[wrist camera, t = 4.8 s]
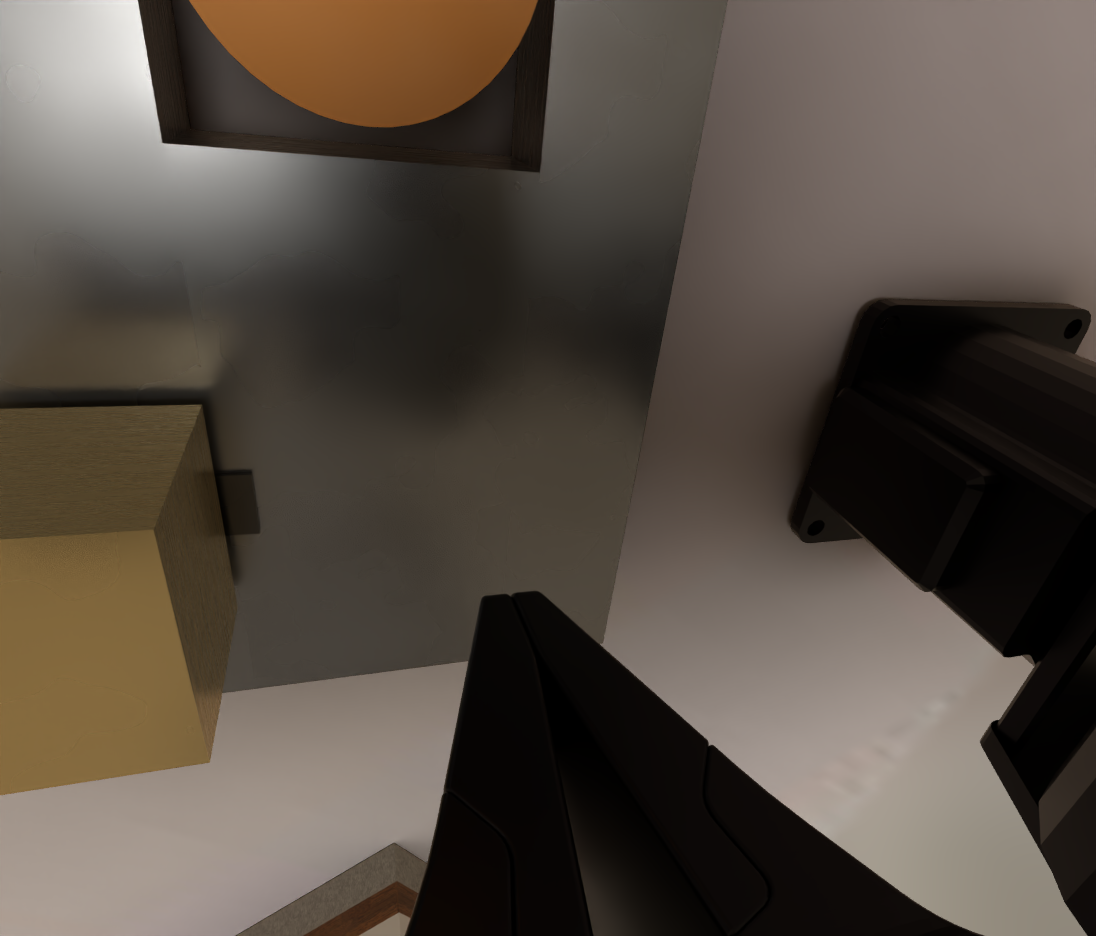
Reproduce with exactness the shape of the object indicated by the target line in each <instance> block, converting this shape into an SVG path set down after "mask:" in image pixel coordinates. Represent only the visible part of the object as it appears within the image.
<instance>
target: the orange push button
mask: <svg viewBox="0 0 1096 936" xmlns="http://www.w3.org/2000/svg"><path fill="white" fill-rule="evenodd" d="M189 1H190V2H191V4H192V5H193V7H194V8H195V10H196V11H197V13H198V14H199V15H200V17H201V18H202V20H203V21H204V23H205V24H206V25H207V27H208V28H209V30H210V31H211V32H212V33H213V34H214V36H215V37H216V38H217V39H218V40H219V41H220V43H221V44H222V45H223V46H224V47H225V48H226V50H227V51H228V52H229V53H230V54H231V55H232V56H233V57H234V58H235V59H236V60H237V61H238V62H239V63H241V64H242V65H243V66H244V67H245V68H246V69H247V70H248V71H249V72H250V73H251V74H252V75H254V76H255V77H256V78H257V79H259V80H260V81H261V82H263V83H264V84H265V85H267V86H268V87H269V88H271V89H272V90H273V91H275V92H276V93H278V94H280V95H281V96H283V97H285V98H286V99H288V100H290V101H291V102H293V103H295V104H296V105H298V106H300V107H303V108H305V109H307V110H309V111H312V112H314V113H316V114H318V115H321V116H323V117H327V118H330V119H333V120H337V121H340V122H343V123H348V124H354V125H360V126H367V127H397V126H405V125H413V124H417V123H420V122H424V121H427V120H431V119H434V118H437V117H439V116H441V115H443V114H445V113H448V112H450V111H452V110H454V109H456V108H457V107H459V106H461V105H462V104H464V103H465V102H467V101H468V100H470V99H471V98H473V97H474V96H475V95H476V94H478V93H479V92H480V91H481V90H482V89H483V88H484V87H486V86H487V85H488V84H489V83H490V82H491V81H492V80H493V79H494V77H495V76H496V75H497V74H498V73H499V72H500V71H501V69H502V68H503V67H504V66H505V65H506V63H507V62H508V60H509V59H510V57H511V56H512V54H513V53H514V51H515V50H516V48H517V47H518V45H519V43H520V41H521V39H522V37H523V35H524V33H525V31H526V29H527V27H528V25H529V23H530V21H531V18H532V15H533V12H534V10H535V7H536V4H537V1H538V0H189Z"/></svg>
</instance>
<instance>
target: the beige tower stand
mask: <svg viewBox="0 0 1096 936" xmlns="http://www.w3.org/2000/svg"><path fill="white" fill-rule="evenodd" d="M426 866H427V863H425V862H424V861H422V860H420V859H419V858H417V857H415V856H414V855H412V854H411V853H409V852H407V851H406V850H404V849H403V848H401V847H399V846H398V845H396V844H395V843H393V844H392V845H390V846H388V847H387V848H385V849H383V850H381V851H380V852H378V853H376V854H375V855H373V856H371V857H370V858H368V859H366V860H364V861H363V862H361V863H359V864H358V865H356V866H354V867H353V868H351V869H349V870H347V871H346V872H344V873H342V874H341V875H339V876H337V877H335V878H334V879H332V880H330V881H329V882H327V883H325V884H324V885H322V886H320V887H318V888H317V889H315V890H313V891H312V892H310V893H308V894H307V895H305V896H303V897H301V898H300V899H298V900H296V901H295V902H293V903H291V904H290V905H288V906H286V907H284V908H283V909H281V910H279V911H278V912H276V913H274V914H273V915H271V916H269V917H267V918H266V919H264V920H262V921H261V922H259V923H257V924H255V925H254V926H252V927H250V928H249V929H247V930H245V931H244V932H242V933H240V934H238V935H237V936H404V935H405V933H406V930H407V927H408V924H409V921H410V918H411V915H412V912H413V908H414V905H415V902H416V899H417V896H418V892H419V889H420V886H421V883H422V879H423V876H424V873H425V870H426Z"/></svg>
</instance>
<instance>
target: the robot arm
mask: <svg viewBox="0 0 1096 936" xmlns="http://www.w3.org/2000/svg"><path fill="white" fill-rule="evenodd" d="M887 318H888V322H887V323H886V325H885V327H883V328H882V329H881V326H882V324H883V322H884V321H885V320H886V319H887ZM1090 322H1091V315H1090V313H1089V311H1087V310H1084V309H1081V308H1078V307H1075V306H1072V305H1069V304H1045V303H1007V302H969V301H932V300H894V299H885V300H880V301H877V302H876V303H874V304H872V305H871V306H870V307H869V308H868V309H867V310H866V311H865V312H864V314H863V316H862V318H861V320H860V323H859V326H858V329H857V332H856V334H855V337H854V340H853V343H852V346H851V349H850V352H849V355H848V358H847V360H846V363H845V366H844V369H843V372H842V375H841V378H840V381H839V384H838V387H837V389H836V392H835V395H834V398H833V401H832V404H831V407H830V410H829V413H828V416H827V418H826V421H825V424H824V427H823V430H822V433H821V436H820V439H819V442H818V444H817V447H816V450H815V453H814V456H813V459H812V462H811V465H810V468H809V471H808V473H807V476H806V479H805V482H804V485H803V488H802V491H801V494H800V497H799V499H798V502H797V505H796V508H795V511H794V514H793V517H792V520H791V526H790V527H791V529H792V531H793V532H794V533H795V534H796V535H797V536H798V538H799V539H800V540H802V541H803V542H805V543H817V542H827V541H838V540H849V539H859V538H864V539H865V540H866V541H867V542H868V543H869V544H870V545H871V546H872V547H874V548H875V549H876V550H877V551H878V552H879V553H880V554H881V555H882V556H883V557H885V558H886V559H887V560H888V561H889V562H890V563H891V564H892V565H893V566H894V567H896V568H897V569H898V570H899V571H900V572H901V573H902V574H903V575H904V576H905V577H907V578H908V579H909V580H910V581H911V582H912V583H913V584H914V585H915V586H916V587H918V588H919V589H920V590H922V591H924V592H930V591H931V592H932V593H933V594H934V595H935V596H936V597H937V598H939V599H940V600H941V601H942V602H943V603H944V604H945V605H946V606H948V607H949V608H950V609H951V610H952V611H953V612H954V613H955V614H956V615H958V616H959V617H960V618H961V619H962V620H963V621H964V622H965V623H967V624H968V625H969V626H970V627H971V628H972V629H973V630H974V631H976V632H977V633H978V634H979V635H980V636H981V637H982V638H983V639H984V640H986V641H987V642H988V643H989V644H990V645H991V646H992V647H993V648H995V649H996V650H997V651H998V652H999V653H1000V654H1001V655H1002V656H1003V657H1015V656H1021V655H1022V656H1023V657H1024V658H1025V659H1026V660H1028V661H1029V662H1030V663H1031V664H1032V665H1033V666H1034V668H1033V670H1032V671H1031V673H1030V674H1029V676H1028V677H1027V679H1026V681H1025V682H1024V683H1023V685H1022V687H1021V688H1020V690H1019V691H1018V693H1017V694H1016V696H1015V697H1014V699H1013V700H1012V702H1011V703H1010V705H1009V706H1008V708H1007V709H1006V711H1005V712H1004V714H1003V715H1002V717H1001V719H1000V720H996V721H993V722H992V723H991V724H990V726H989V727H988V729H987V730H986V732H985V733H984V735H983V736H982V738H981V741H980V743H981V746H982V748H983V750H984V751H985V753H986V755H987V757H988V759H989V760H990V762H991V764H992V766H993V768H994V769H995V771H996V773H997V775H998V776H999V778H1000V780H1001V782H1002V783H1003V785H1004V787H1005V789H1006V791H1007V792H1008V794H1009V796H1010V798H1011V800H1012V801H1013V803H1014V805H1015V806H1016V808H1017V810H1018V812H1019V814H1020V815H1021V817H1022V819H1023V821H1024V823H1025V824H1026V826H1027V828H1028V830H1029V831H1030V833H1031V835H1032V837H1033V839H1034V841H1035V842H1036V844H1037V846H1038V848H1039V849H1040V851H1041V853H1042V855H1043V857H1044V858H1045V860H1046V862H1047V864H1048V865H1049V867H1050V869H1051V871H1052V873H1053V875H1054V878H1055V880H1056V883H1057V885H1058V888H1059V890H1060V892H1061V895H1062V897H1063V900H1064V902H1065V904H1066V905H1067V907H1068V908H1069V910H1070V911H1071V912H1072V914H1073V915H1074V917H1075V918H1076V920H1077V921H1078V923H1079V924H1080V925H1081V927H1082V928H1083V930H1084V931H1085V933H1086V934H1087V935H1088V936H1096V363H1095V362H1093V361H1090V360H1088V359H1085V358H1083V357H1080V356H1078V355H1075V353H1076V351H1077V349H1078V347H1079V345H1080V343H1081V341H1082V339H1083V338H1084V336H1085V334H1086V332H1087V330H1088V328H1089V325H1090ZM811 523H812V524H811ZM708 745H709V743H708V740H707V739H706V738H704V737H703V736H702V735H701V734H700V733H699V732H698V731H697V730H695V729H694V728H693V727H692V726H691V725H690V724H689V723H688V722H686V721H685V720H684V719H683V718H682V717H681V716H680V715H679V714H677V713H676V712H675V711H674V710H673V709H672V708H671V707H670V706H668V705H667V704H666V703H665V702H664V701H663V700H662V699H661V698H659V697H658V696H657V695H656V694H655V693H654V692H653V691H652V690H650V689H649V688H648V687H647V686H646V685H645V684H644V683H643V682H641V681H640V680H639V679H638V678H637V677H636V676H635V675H634V674H632V673H631V672H630V671H629V670H628V669H627V668H626V667H625V666H623V665H622V664H621V663H620V662H619V661H618V660H617V659H616V658H614V657H613V656H612V655H611V654H610V653H609V652H608V651H607V650H605V649H604V648H603V647H602V646H601V645H600V644H599V643H598V642H596V641H595V640H594V639H593V638H592V637H591V636H590V635H589V634H587V633H586V632H585V631H584V630H583V629H582V628H581V627H580V626H578V625H577V624H576V623H575V622H574V621H573V620H572V619H571V618H569V617H568V616H567V615H566V614H565V613H564V612H563V611H561V610H560V609H559V608H558V607H557V606H556V605H555V604H554V603H552V602H551V601H550V600H549V599H548V598H547V597H546V596H545V595H543V594H542V593H541V592H539V591H525V592H515V593H513V594H512V595H511V596H510V595H508V594H495V595H486V596H483V597H482V598H481V601H480V606H479V611H478V616H477V621H476V626H475V631H474V636H473V642H472V647H471V652H470V657H469V662H468V667H467V672H466V677H465V682H464V688H463V693H462V698H461V703H460V708H459V713H458V718H457V723H456V728H455V733H454V739H453V744H452V749H451V754H450V759H449V764H448V769H447V774H446V779H445V785H444V793H443V795H442V798H441V803H440V808H439V813H438V819H437V824H436V828H435V832H434V836H433V841H432V845H431V849H430V853H429V858H428V862H427V866H426V870H425V873H424V876H423V879H422V883H421V886H420V889H419V892H418V896H417V899H416V902H415V905H414V908H413V912H412V915H411V918H410V921H409V924H408V927H407V930H406V933H405V935H404V936H984V935H981V934H978V933H975V932H972V931H969V930H967V929H965V928H962V927H960V926H957V925H955V924H953V923H951V922H949V921H947V920H945V919H943V918H941V917H939V916H938V915H936V914H934V913H932V912H931V911H929V910H927V909H926V908H924V907H922V906H921V905H919V904H917V903H916V902H914V901H913V900H912V899H910V898H909V897H907V896H906V895H905V894H903V893H902V892H900V891H899V890H898V889H896V888H895V887H894V886H892V885H891V884H889V883H888V882H887V881H885V880H884V879H883V878H881V877H880V876H878V875H877V874H876V873H874V872H873V871H872V870H871V869H869V868H868V867H866V866H865V865H864V864H862V863H861V862H860V861H858V860H857V859H856V858H854V857H853V856H852V855H850V854H849V853H847V852H846V851H845V850H844V849H842V848H841V847H840V846H838V845H837V844H835V843H834V842H833V841H831V840H830V839H829V838H827V837H826V836H825V835H823V834H822V833H821V832H819V831H818V830H817V829H815V828H814V827H813V826H811V825H810V824H808V823H807V822H806V821H805V820H803V819H802V818H801V817H799V816H798V815H797V814H795V813H794V812H793V811H792V810H790V809H789V808H788V807H786V806H785V805H784V804H783V803H781V802H780V801H779V800H777V799H776V798H775V797H774V796H772V795H771V794H770V793H768V792H767V791H766V790H765V789H764V788H762V787H761V786H760V785H759V784H758V783H756V782H755V781H754V780H753V779H752V778H751V777H749V776H748V775H747V774H746V773H745V772H744V771H742V770H741V769H740V768H739V767H738V766H736V765H735V764H734V763H733V762H732V761H731V760H730V759H728V758H727V757H726V756H725V755H724V754H723V753H722V752H721V751H719V750H718V749H717V748H716V747H715V746H714V745H710V746H709V747H708Z"/></svg>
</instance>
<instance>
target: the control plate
mask: <svg viewBox="0 0 1096 936" xmlns="http://www.w3.org/2000/svg"><path fill="white" fill-rule="evenodd" d="M727 1H728V0H538V1H537V4H536V7H535V10H534V12H533V15H532V18H531V21H530V23H529V25H528V27H527V29H526V31H525V33H524V35H523V37H522V39H521V41H520V43H519V45H518V58H517V74H516V89H515V104H514V119H513V134H512V149H511V156H500V155H488V154H476V153H464V152H452V151H440V150H428V149H416V148H404V147H392V146H380V145H368V144H356V143H344V142H332V141H320V140H308V139H297V138H285V137H273V136H261V135H249V134H237V133H225V132H213V131H201V130H191V129H190V122H189V115H188V109H187V102H186V96H185V89H184V82H183V76H182V69H181V63H180V56H179V49H178V43H177V36H176V30H175V23H174V16H173V10H172V3H171V0H0V409H15V408H64V407H114V406H163V405H202V408H203V414H204V419H205V425H206V431H207V436H208V442H209V448H210V453H211V459H212V465H213V470H214V476H215V482H216V487H217V493H218V499H219V504H220V510H221V516H222V521H223V527H224V533H225V538H226V544H227V550H228V555H229V561H230V567H231V572H232V578H233V584H234V589H235V595H236V601H237V606H238V608H237V614H236V619H235V625H234V630H233V636H232V641H231V647H230V653H229V658H228V664H227V669H226V675H225V680H224V686H223V692H222V693H226V692H234V691H241V690H249V689H257V688H264V687H272V686H280V685H287V684H295V683H303V682H310V681H318V680H326V679H333V678H341V677H349V676H356V675H364V674H372V673H379V672H387V671H395V670H402V669H410V668H418V667H425V666H433V665H441V664H448V663H456V662H464V661H469V657H470V652H471V647H472V642H473V636H474V631H475V626H476V621H477V616H478V611H479V606H480V601H481V598H482V597H483V596H486V595H495V594H508V595H510V596H511V595H512V594H513V593H515V592H525V591H539V592H541V593H542V594H543V595H545V596H546V597H547V598H548V599H549V600H550V601H551V602H552V603H554V604H555V605H556V606H557V607H558V608H559V609H560V610H561V611H563V612H564V613H565V614H566V615H567V616H568V617H569V618H571V619H572V620H573V621H574V622H575V623H576V624H577V625H578V626H580V627H581V628H582V629H583V630H584V631H585V632H586V633H587V634H589V635H590V636H591V637H592V638H593V639H594V640H595V641H596V642H598V643H599V644H602V643H603V639H604V634H605V629H606V624H607V619H608V614H609V609H610V603H611V598H612V593H613V588H614V583H615V578H616V573H617V567H618V562H619V557H620V552H621V547H622V542H623V536H624V531H625V526H626V521H627V516H628V511H629V506H630V500H631V495H632V490H633V485H634V480H635V475H636V470H637V464H638V459H639V454H640V449H641V444H642V439H643V434H644V428H645V423H646V418H647V413H648V408H649V403H650V398H651V392H652V387H653V382H654V377H655V372H656V367H657V361H658V356H659V351H660V346H661V341H662V336H663V331H664V325H665V320H666V315H667V310H668V305H669V300H670V295H671V289H672V284H673V279H674V274H675V269H676V264H677V259H678V253H679V248H680V243H681V238H682V233H683V228H684V223H685V217H686V212H687V207H688V202H689V197H690V192H691V187H692V181H693V176H694V171H695V166H696V161H697V156H698V150H699V145H700V140H701V135H702V130H703V125H704V120H705V114H706V109H707V104H708V99H709V94H710V89H711V84H712V78H713V73H714V68H715V63H716V58H717V53H718V48H719V42H720V37H721V32H722V27H723V22H724V17H725V12H726V6H727Z"/></svg>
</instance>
